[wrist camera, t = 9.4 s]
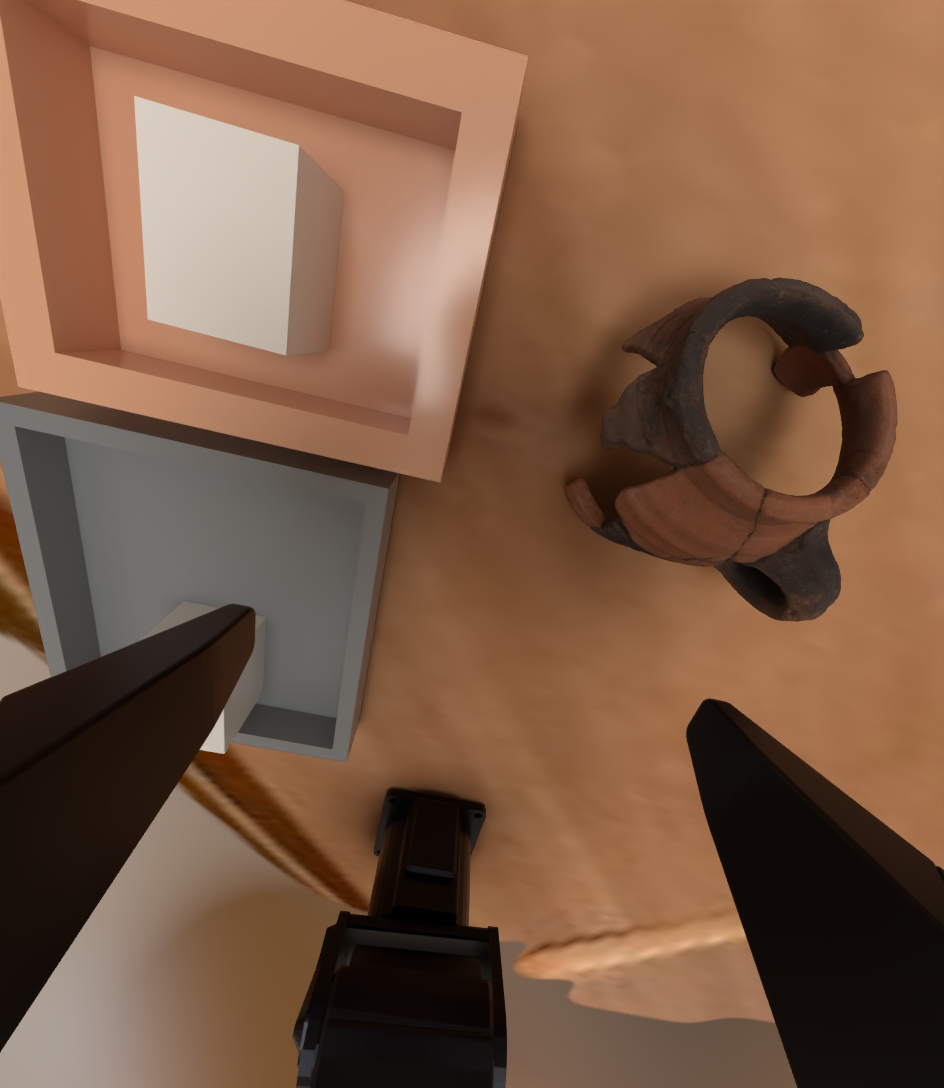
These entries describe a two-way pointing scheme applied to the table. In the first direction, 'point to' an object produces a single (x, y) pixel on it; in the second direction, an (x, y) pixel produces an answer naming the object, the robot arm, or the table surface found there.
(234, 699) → the off-white rectangular prism
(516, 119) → the terracotta dish
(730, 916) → the table surface
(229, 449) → the parts tray
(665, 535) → the brown curved piece
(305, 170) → the cream rectangular block
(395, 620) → the table surface
